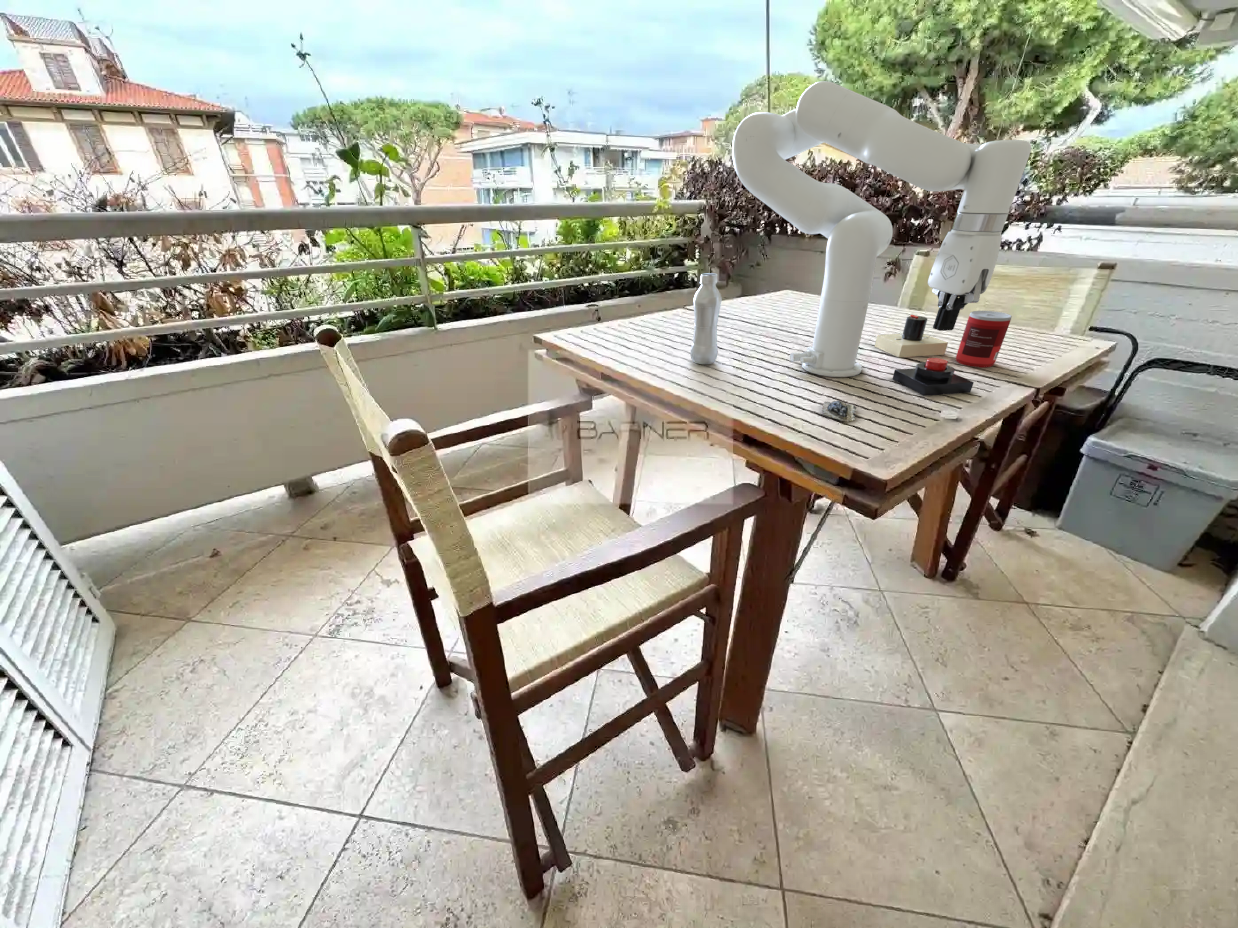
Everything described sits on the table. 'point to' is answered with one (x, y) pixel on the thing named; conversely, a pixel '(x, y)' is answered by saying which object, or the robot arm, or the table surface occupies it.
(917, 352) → the beige flat block
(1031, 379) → the table surface
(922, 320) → the knob
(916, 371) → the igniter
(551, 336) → the table surface
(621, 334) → the table surface
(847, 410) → the blueberries
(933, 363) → the button
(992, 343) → the canned food
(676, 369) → the table surface
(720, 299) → the plastic bottle
